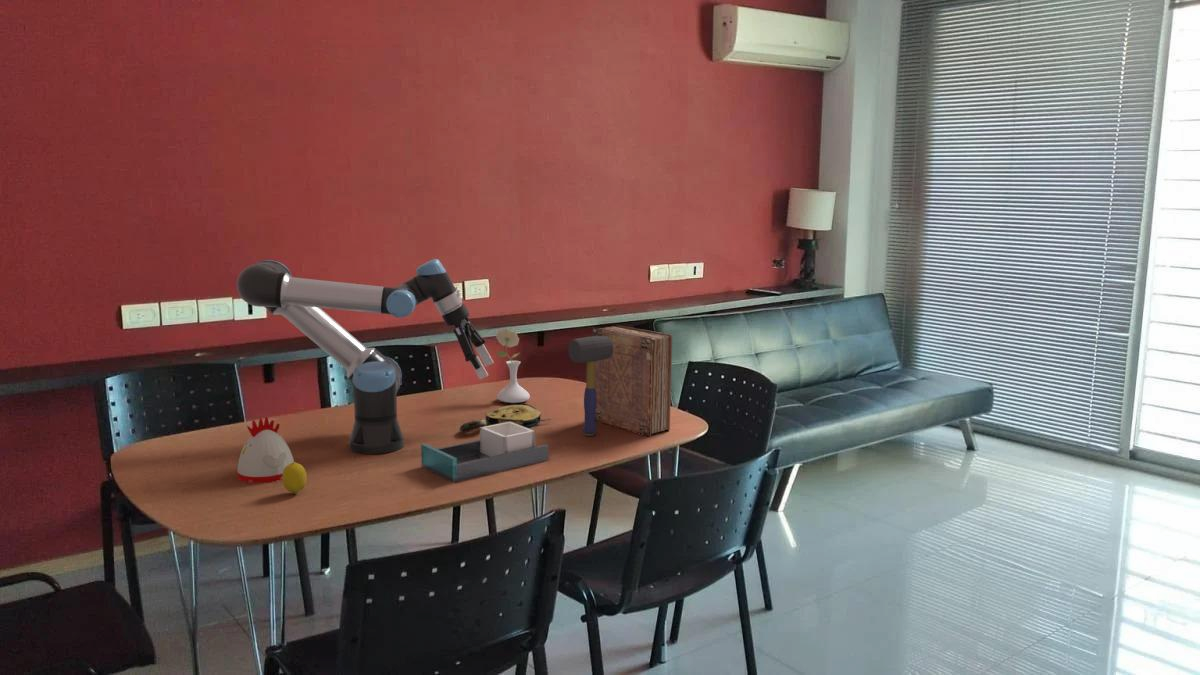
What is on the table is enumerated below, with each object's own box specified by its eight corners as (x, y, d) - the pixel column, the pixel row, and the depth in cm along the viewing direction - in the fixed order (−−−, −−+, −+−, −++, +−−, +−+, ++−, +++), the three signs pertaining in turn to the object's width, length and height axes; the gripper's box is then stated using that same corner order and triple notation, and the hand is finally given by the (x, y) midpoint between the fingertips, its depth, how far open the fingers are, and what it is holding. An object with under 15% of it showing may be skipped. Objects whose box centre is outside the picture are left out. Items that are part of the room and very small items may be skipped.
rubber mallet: (579, 441, 264) (580, 340, 258) (565, 435, 270) (566, 336, 264) (613, 435, 271) (615, 336, 265) (599, 429, 277) (601, 332, 271)
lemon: (310, 489, 220) (308, 458, 219) (303, 497, 215) (301, 465, 214) (287, 489, 220) (285, 458, 219) (280, 497, 215) (278, 465, 213)
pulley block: (448, 409, 272) (529, 395, 291) (447, 427, 274) (527, 412, 293) (473, 426, 262) (555, 411, 281) (472, 445, 264) (553, 428, 283)
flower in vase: (536, 400, 311) (536, 329, 307) (516, 407, 302) (516, 333, 297) (506, 395, 318) (506, 325, 313) (486, 401, 308) (485, 329, 304)
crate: (504, 462, 239) (504, 437, 238) (480, 452, 248) (479, 427, 247) (535, 455, 245) (535, 430, 244) (510, 445, 254) (510, 421, 253)
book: (670, 431, 275) (673, 334, 270) (649, 437, 269) (652, 338, 264) (612, 415, 293) (613, 324, 288) (591, 420, 287) (592, 327, 282)
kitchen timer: (228, 473, 232) (225, 417, 229) (280, 462, 241) (277, 408, 239) (252, 487, 222) (248, 428, 219) (304, 474, 232) (301, 418, 229)
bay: (452, 482, 227) (452, 459, 226) (421, 466, 239) (421, 444, 238) (548, 460, 246) (548, 438, 245) (514, 446, 258) (514, 425, 257)
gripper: (456, 312, 253) (493, 377, 257) (469, 295, 277) (502, 354, 281) (433, 324, 253) (470, 388, 258) (448, 305, 278) (481, 364, 282)
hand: (487, 370), depth 270 cm, fingers open, 13 cm apart
